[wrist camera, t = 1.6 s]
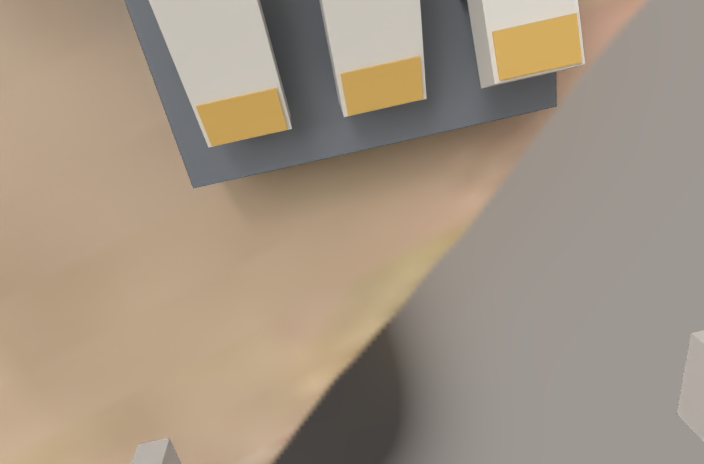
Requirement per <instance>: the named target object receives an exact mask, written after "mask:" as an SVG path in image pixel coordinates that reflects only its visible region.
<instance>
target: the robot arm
mask: <svg viewBox="0 0 704 464" xmlns="http://www.w3.org/2000/svg"><path fill="white" fill-rule="evenodd" d="M677 414H678V416H679V417H680V418H681V419H682V420H683V421H684V422H685V423H686V424H687V425H688V426H689V427H690V428H691V429H692V430H693V431H694V432H695V433H696V434H697V436H699V438H700V439H701V440H702V441H703V442H704V331H699V332H693V333H691V336H690V341H689V347H688V352H687V358H686V364H685V370H684V375H683V381H682V387H681V392H680V399H679V404H678V410H677ZM131 464H181V462H180V460H179V458H178V455H177V453H176V451H175V449H174V446H173V444H172V442H171V440H170V438H165V439H160V440H155V441H150V442H145V443H140V444H138V446H137V448H136V451H135V454H134V456H133V459H132V462H131Z"/></svg>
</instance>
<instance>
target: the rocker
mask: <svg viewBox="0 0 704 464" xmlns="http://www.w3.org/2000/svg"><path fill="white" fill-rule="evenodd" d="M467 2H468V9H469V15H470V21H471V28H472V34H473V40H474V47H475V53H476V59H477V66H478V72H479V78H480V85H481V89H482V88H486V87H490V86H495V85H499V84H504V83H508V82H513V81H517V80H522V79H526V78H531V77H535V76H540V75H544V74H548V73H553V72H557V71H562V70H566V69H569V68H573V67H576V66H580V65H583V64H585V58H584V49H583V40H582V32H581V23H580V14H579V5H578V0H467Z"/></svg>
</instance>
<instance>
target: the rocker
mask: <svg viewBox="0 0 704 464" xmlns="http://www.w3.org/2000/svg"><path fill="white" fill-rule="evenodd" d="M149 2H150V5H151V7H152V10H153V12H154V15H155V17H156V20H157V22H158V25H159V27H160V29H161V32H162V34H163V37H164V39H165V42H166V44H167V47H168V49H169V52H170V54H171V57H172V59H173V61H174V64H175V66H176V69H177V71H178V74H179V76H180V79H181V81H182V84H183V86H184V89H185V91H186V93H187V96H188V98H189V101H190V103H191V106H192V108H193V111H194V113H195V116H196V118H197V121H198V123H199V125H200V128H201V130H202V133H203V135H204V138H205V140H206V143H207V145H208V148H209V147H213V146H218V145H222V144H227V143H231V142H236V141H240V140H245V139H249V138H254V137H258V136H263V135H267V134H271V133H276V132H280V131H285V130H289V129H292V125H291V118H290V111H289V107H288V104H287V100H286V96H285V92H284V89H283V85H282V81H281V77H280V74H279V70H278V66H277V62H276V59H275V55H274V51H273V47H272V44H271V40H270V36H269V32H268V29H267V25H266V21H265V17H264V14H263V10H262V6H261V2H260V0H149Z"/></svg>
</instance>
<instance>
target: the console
mask: <svg viewBox="0 0 704 464" xmlns="http://www.w3.org/2000/svg"><path fill="white" fill-rule="evenodd" d="M260 2H261V6H262V10H263V14H264V17H265V21H266V25H267V29H268V32H269V36H270V40H271V44H272V47H273V51H274V55H275V59H276V62H277V66H278V70H279V74H280V77H281V81H282V85H283V89H284V92H285V96H286V100H287V104H288V107H289V111H290V118H291V125H292V129H289V130H285V131H280V132H276V133H271V134H267V135H263V136H258V137H254V138H249V139H245V140H240V141H236V142H231V143H227V144H222V145H218V146H213V147H209V148H208V145H207V143H206V140H205V138H204V135H203V133H202V130H201V128H200V125H199V123H198V121H197V118H196V116H195V113H194V111H193V108H192V106H191V103H190V101H189V98H188V96H187V93H186V91H185V89H184V86H183V84H182V81H181V79H180V76H179V74H178V71H177V69H176V66H175V64H174V61H173V59H172V57H171V54H170V52H169V49H168V47H167V44H166V42H165V39H164V37H163V34H162V32H161V29H160V27H159V25H158V22H157V20H156V17H155V15H154V12H153V10H152V7H151V5H150V2H149V0H125V3H126V6H127V9H128V11H129V14H130V17H131V20H132V22H133V25H134V28H135V31H136V33H137V36H138V39H139V42H140V44H141V47H142V50H143V52H144V55H145V58H146V61H147V63H148V66H149V69H150V72H151V74H152V77H153V80H154V83H155V85H156V88H157V91H158V93H159V96H160V99H161V102H162V104H163V107H164V110H165V113H166V115H167V118H168V121H169V124H170V126H171V129H172V132H173V134H174V137H175V140H176V143H177V145H178V148H179V151H180V154H181V156H182V159H183V162H184V165H185V167H186V170H187V173H188V175H189V178H190V181H191V184H192V186H193V188H197V187H201V186H206V185H210V184H214V183H219V182H223V181H228V180H232V179H237V178H241V177H245V176H250V175H254V174H259V173H263V172H268V171H272V170H277V169H281V168H285V167H290V166H294V165H299V164H303V163H308V162H312V161H316V160H321V159H325V158H330V157H334V156H339V155H343V154H348V153H352V152H356V151H361V150H365V149H370V148H374V147H379V146H383V145H387V144H392V143H396V142H401V141H405V140H410V139H414V138H419V137H423V136H427V135H432V134H436V133H441V132H445V131H450V130H454V129H458V128H463V127H467V126H472V125H476V124H481V123H485V122H490V121H494V120H498V119H503V118H507V117H512V116H516V115H521V114H525V113H529V112H534V111H538V110H543V109H547V108H552V107H556V106H557V99H556V72H553V73H548V74H544V75H540V76H535V77H531V78H526V79H522V80H517V81H513V82H508V83H504V84H499V85H495V86H490V87H486V88H482V89H481V85H480V78H479V72H478V66H477V59H476V53H475V47H474V40H473V34H472V28H471V21H470V15H469V9H468V2H467V0H420V8H421V23H422V38H423V53H424V68H425V83H426V99H423V100H419V101H414V102H410V103H405V104H401V105H396V106H392V107H388V108H383V109H379V110H374V111H370V112H365V113H361V114H356V115H352V116H347V117H344V116H343V113H342V110H341V107H340V104H339V100H338V95H337V90H336V85H335V80H334V74H333V69H332V64H331V59H330V54H329V48H328V43H327V38H326V33H325V28H324V22H323V17H322V12H321V7H320V2H319V0H260Z"/></svg>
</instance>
